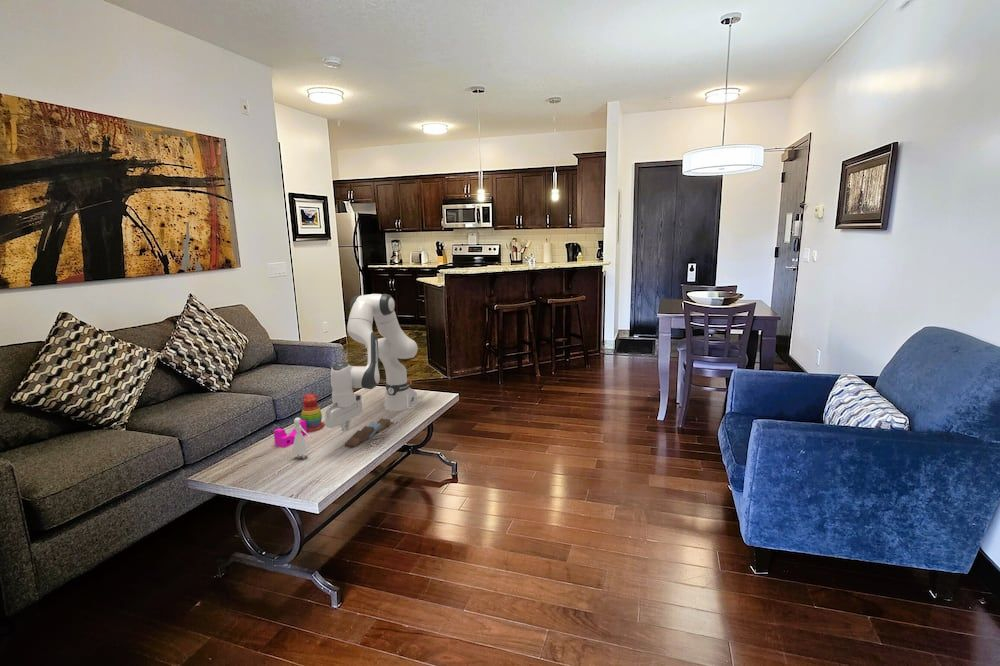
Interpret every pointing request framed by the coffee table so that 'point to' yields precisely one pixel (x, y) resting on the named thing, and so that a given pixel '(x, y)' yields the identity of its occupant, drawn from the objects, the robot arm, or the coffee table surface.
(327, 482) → the coffee table surface
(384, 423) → the domino
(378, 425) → the domino
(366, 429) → the domino
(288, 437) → the toy block
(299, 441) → the woman figurine
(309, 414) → the stacking bear
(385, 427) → the domino
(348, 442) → the domino
